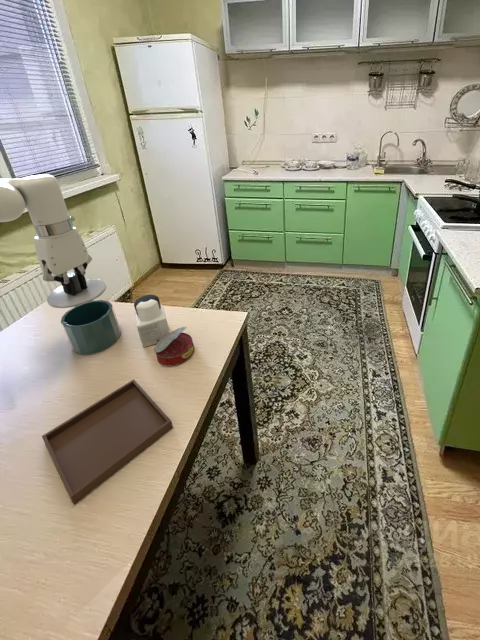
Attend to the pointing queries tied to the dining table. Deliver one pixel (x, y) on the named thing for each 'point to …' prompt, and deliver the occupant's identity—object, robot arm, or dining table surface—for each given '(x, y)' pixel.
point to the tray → (105, 438)
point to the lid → (82, 295)
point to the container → (150, 319)
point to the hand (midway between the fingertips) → (76, 290)
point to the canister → (91, 327)
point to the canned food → (174, 348)
